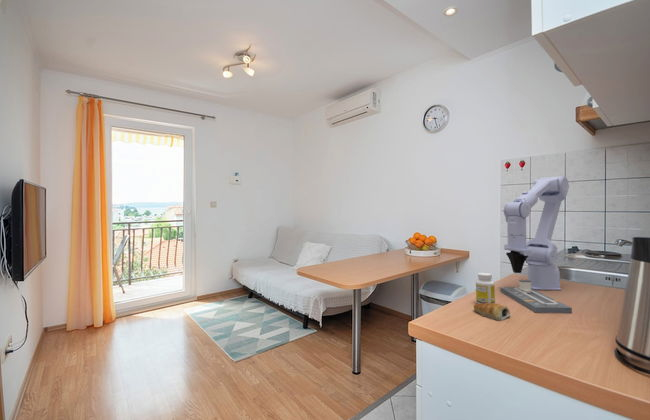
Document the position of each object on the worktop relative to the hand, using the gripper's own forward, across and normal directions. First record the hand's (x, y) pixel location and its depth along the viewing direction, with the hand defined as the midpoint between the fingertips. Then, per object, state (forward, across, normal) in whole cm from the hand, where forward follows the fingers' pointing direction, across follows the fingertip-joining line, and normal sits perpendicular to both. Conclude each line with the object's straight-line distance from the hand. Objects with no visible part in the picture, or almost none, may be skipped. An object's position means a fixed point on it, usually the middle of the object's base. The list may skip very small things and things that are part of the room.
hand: (517, 272), depth 109 cm
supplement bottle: (+8, +12, -16) cm, 21 cm away
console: (+8, +9, 0) cm, 12 cm away
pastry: (+8, +22, -18) cm, 30 cm away
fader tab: (+6, +5, 0) cm, 7 cm away
